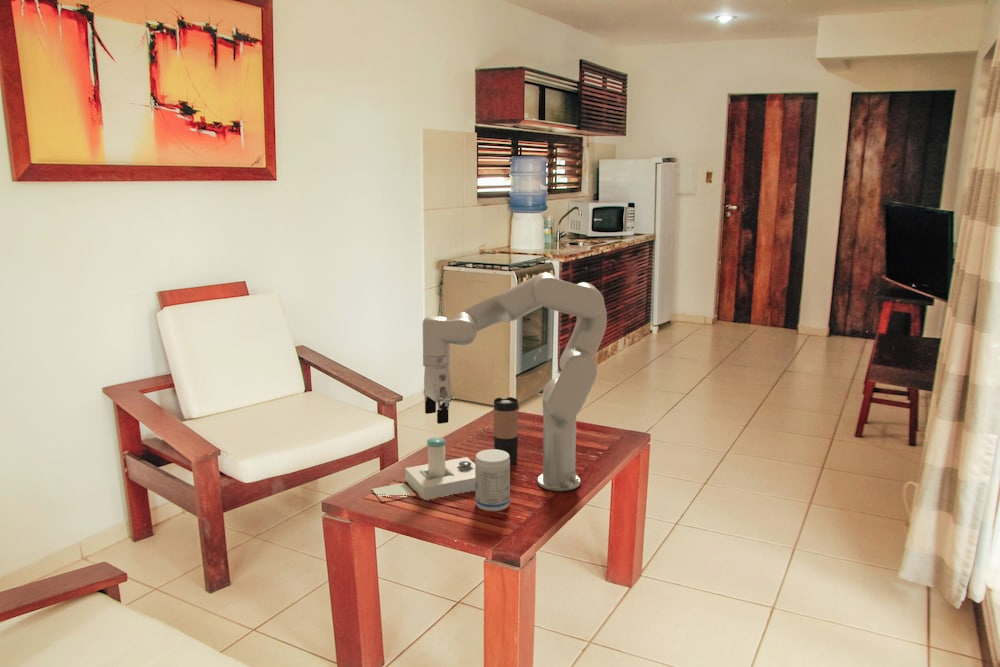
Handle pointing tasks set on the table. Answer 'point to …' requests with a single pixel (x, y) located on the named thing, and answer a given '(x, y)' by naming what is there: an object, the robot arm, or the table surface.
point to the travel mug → (506, 426)
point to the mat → (393, 490)
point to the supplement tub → (492, 480)
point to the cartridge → (436, 457)
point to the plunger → (464, 465)
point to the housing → (441, 479)
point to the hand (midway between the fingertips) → (436, 417)
